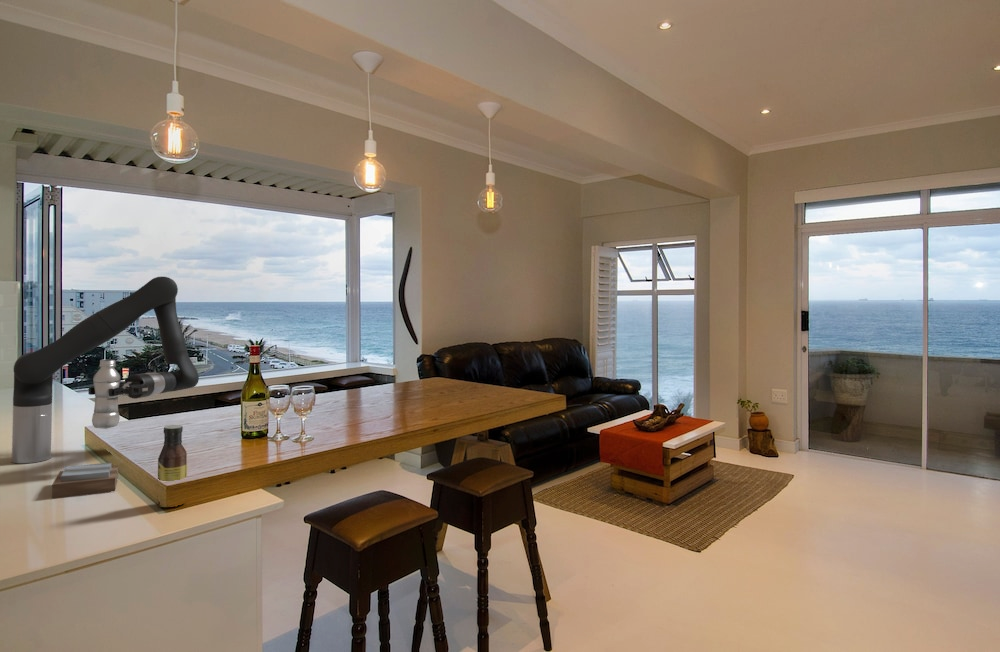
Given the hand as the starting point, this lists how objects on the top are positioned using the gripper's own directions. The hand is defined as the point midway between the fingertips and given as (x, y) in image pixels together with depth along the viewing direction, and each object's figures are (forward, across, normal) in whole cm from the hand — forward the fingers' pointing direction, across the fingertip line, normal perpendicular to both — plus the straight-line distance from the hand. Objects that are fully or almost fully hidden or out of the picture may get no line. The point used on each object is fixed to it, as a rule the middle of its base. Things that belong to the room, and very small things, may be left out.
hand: (100, 391), depth 158 cm
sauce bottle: (+17, +38, +24) cm, 48 cm away
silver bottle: (-2, 0, +11) cm, 11 cm away
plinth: (+11, +8, +24) cm, 27 cm away
